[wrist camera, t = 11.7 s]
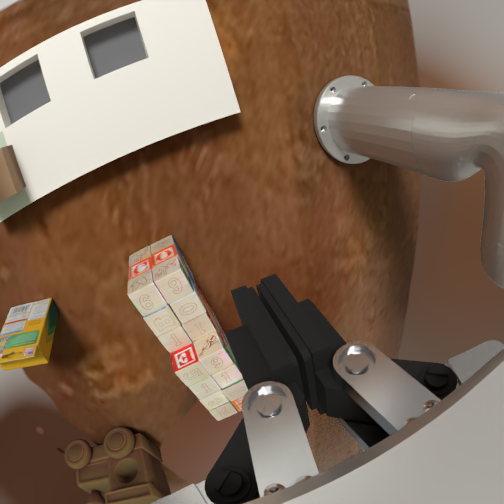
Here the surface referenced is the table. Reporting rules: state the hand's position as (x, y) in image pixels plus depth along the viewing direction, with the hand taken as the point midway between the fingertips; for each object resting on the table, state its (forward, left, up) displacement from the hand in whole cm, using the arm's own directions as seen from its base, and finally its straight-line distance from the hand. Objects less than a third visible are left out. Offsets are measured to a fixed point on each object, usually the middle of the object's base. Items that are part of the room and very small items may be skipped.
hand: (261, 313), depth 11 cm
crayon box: (+25, +8, -28) cm, 38 cm away
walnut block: (+18, -9, -25) cm, 32 cm away
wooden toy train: (+33, +41, -28) cm, 60 cm away
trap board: (+7, -13, -27) cm, 31 cm away
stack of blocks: (+5, +17, -28) cm, 33 cm away
